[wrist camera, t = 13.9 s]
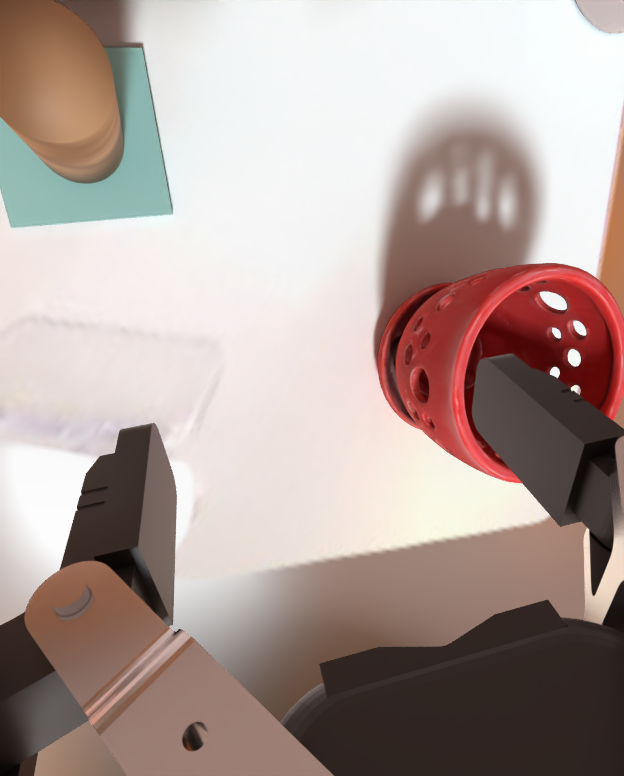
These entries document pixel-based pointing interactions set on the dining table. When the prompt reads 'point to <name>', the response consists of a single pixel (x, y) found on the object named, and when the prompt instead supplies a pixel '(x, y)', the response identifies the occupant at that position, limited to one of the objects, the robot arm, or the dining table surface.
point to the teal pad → (104, 198)
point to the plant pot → (497, 349)
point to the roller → (59, 90)
